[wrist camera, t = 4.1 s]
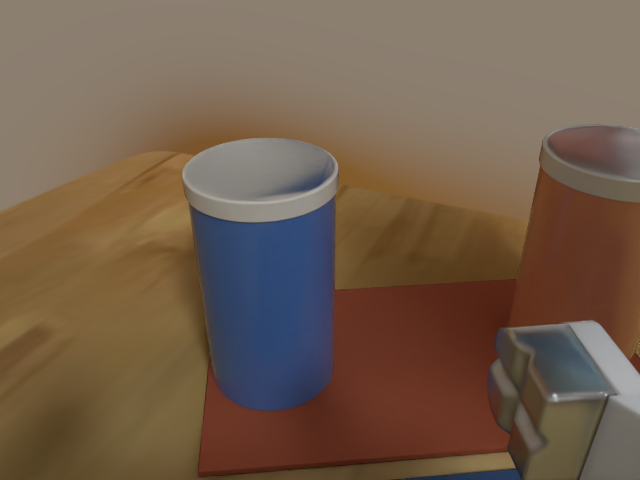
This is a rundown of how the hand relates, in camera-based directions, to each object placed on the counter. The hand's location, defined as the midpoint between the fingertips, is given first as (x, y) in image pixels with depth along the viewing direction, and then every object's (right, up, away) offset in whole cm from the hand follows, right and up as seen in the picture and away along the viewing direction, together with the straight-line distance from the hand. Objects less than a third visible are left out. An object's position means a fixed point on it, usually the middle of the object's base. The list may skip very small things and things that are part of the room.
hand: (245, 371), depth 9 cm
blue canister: (-1, -4, +18) cm, 18 cm away
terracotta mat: (+6, -4, +18) cm, 20 cm away
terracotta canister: (+13, -3, +19) cm, 23 cm away
